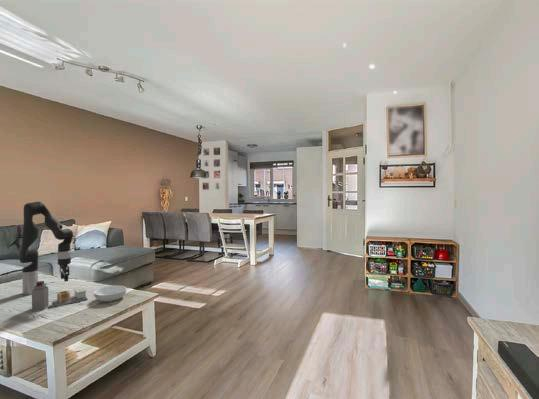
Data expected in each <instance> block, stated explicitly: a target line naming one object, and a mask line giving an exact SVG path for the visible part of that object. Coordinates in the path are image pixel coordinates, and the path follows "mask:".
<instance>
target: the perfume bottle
mask: <svg viewBox="0 0 539 399" xmlns="http://www.w3.org/2000/svg"><path fill="white" fill-rule="evenodd" d="M48 307H49V286H47V283H45V281H44V280H38V282H37V283H36V285H35V286H34V289H33V290H32V294H31V312H33V311H34V312H35V311H42V310H46V309H47V308H48Z"/></svg>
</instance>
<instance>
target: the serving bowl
mask: <svg viewBox="0 0 539 399" xmlns="http://www.w3.org/2000/svg"><path fill="white" fill-rule="evenodd" d="M127 289H128V288H127V287H126V286H124V285H108V286H104V287H100V288H97V289H96V290H94V292H93V296H94V298H95V299H96V300H97V301H100V302H113V300H114V301H116V300H119V299H121V298H123V297H124V296H125V295H126V292H127Z"/></svg>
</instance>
